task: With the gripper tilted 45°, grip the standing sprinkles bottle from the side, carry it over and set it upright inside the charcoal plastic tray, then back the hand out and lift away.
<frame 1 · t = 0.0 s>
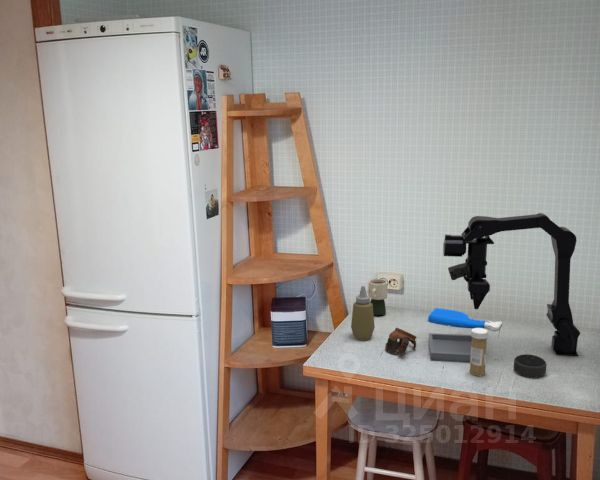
hand: (474, 304, 187), 15 cm above the table, tool pointing down, fingers open, 9 cm apart
smart speaker: (529, 372, 172), on the table
squeeze bottle: (362, 337, 200), on the table
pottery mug: (401, 351, 188), on the table
sprinkles bottle: (477, 373, 172), on the table
tray: (455, 351, 187), on the table
spray bottle: (464, 324, 211), on the table
character mug: (377, 314, 221), on the table
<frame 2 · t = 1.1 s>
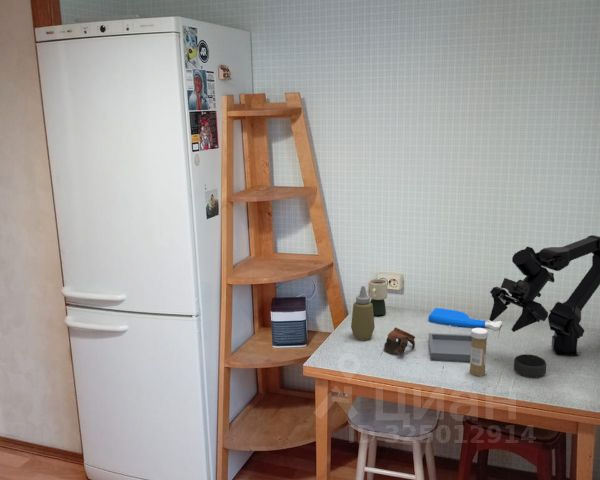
hand: (501, 325, 172), 13 cm above the table, tool tilted 45°, fingers open, 9 cm apart
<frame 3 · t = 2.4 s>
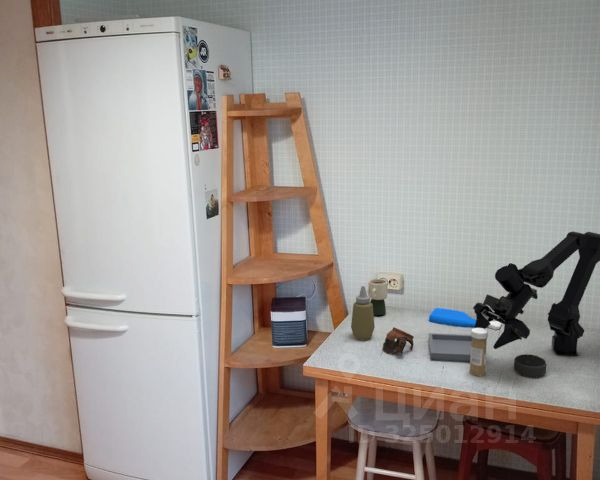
hand: (483, 342, 171), 9 cm above the table, tool tilted 45°, fingers open, 9 cm apart
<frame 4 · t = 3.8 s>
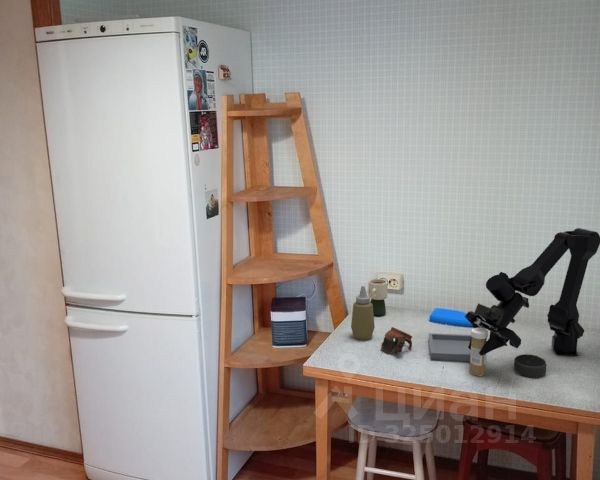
hand: (474, 351, 170), 7 cm above the table, tool tilted 45°, fingers closed on sprinkles bottle, 4 cm apart
sprinkles bottle: (477, 373, 172), on the table, touching gripper
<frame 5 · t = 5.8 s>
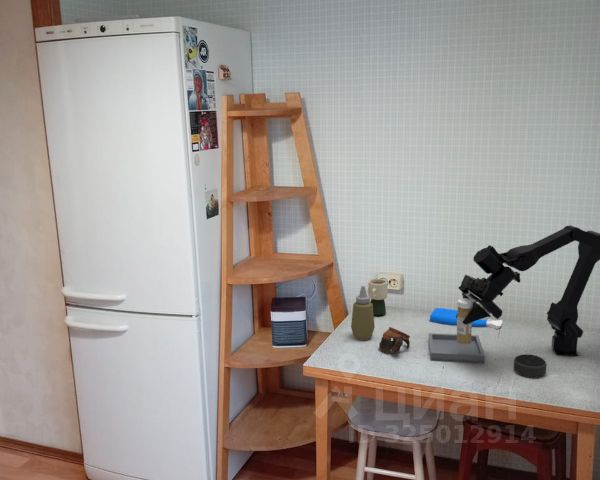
hand: (460, 320, 177), 13 cm above the table, tool tilted 45°, fingers closed on sprinkles bottle, 4 cm apart
sprinkles bottle: (463, 342, 179), point 6 cm above the table, touching gripper
when the fingers open (9 cm above the table, at t = 7.7 s): sprinkles bottle drops 1 cm, resting on tray.
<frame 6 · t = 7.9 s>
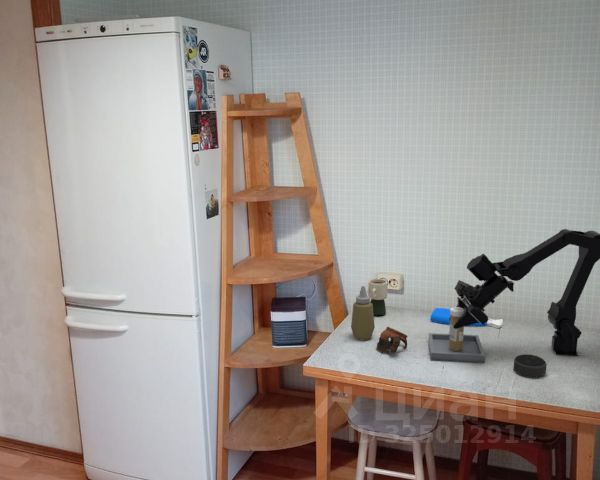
hand: (452, 323, 185), 9 cm above the table, tool tilted 45°, fingers open, 6 cm apart
sprinkles bottle: (455, 349, 187), point 1 cm above the table, touching tray
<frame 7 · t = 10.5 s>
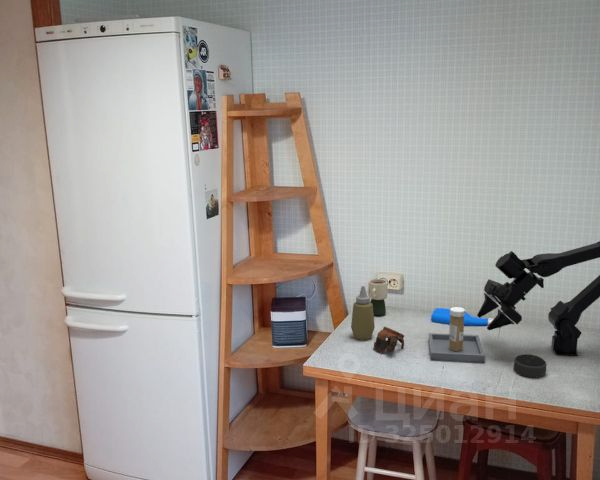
hand: (482, 322, 185), 10 cm above the table, tool tilted 40°, fingers open, 9 cm apart
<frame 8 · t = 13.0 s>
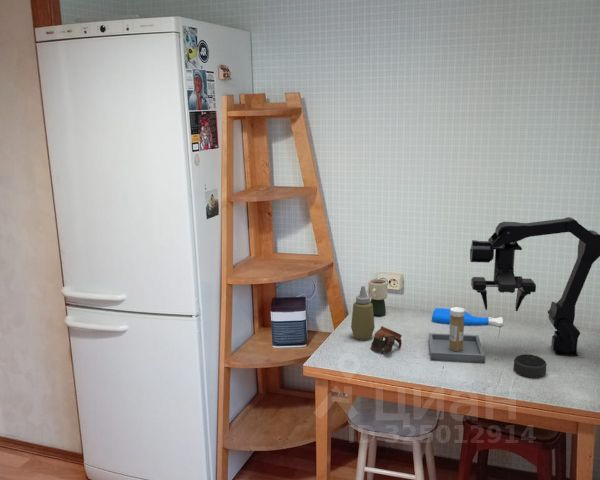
hand: (501, 310, 186), 13 cm above the table, tool pointing down, fingers open, 9 cm apart
at the end: sprinkles bottle inside the target area on the tray (0.1 cm from its centre), point 0.6 cm above the tray's base; sprinkles bottle tilted 0°; the gripper is holding nothing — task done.
